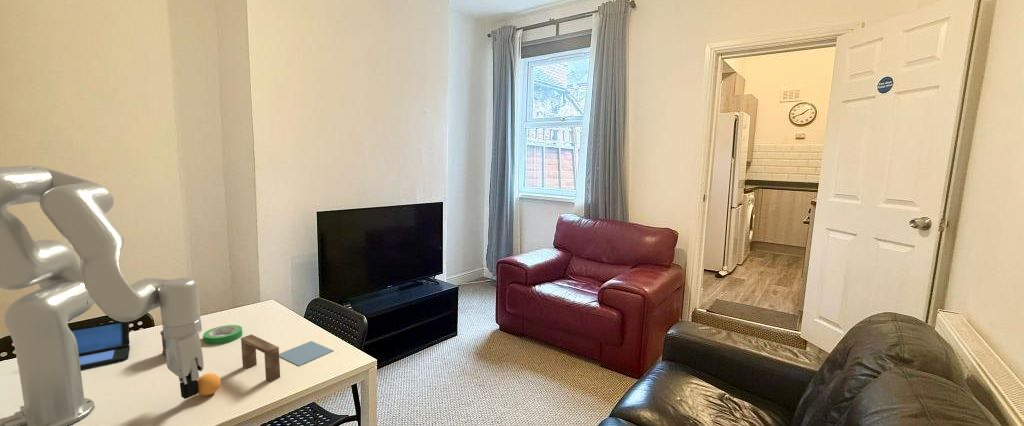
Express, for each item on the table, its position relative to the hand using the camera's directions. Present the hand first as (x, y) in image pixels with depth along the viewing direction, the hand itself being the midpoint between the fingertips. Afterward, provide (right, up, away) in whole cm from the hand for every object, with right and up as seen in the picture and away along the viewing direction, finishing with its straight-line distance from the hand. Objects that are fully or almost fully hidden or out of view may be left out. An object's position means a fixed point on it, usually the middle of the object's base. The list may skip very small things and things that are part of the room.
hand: (190, 395), depth 108 cm
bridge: (+9, 0, +16) cm, 18 cm away
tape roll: (-17, +3, +37) cm, 41 cm away
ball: (+2, +1, +4) cm, 4 cm away
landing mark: (+16, +2, +28) cm, 32 cm away
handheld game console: (-44, +2, +20) cm, 49 cm away
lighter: (-24, +2, +24) cm, 34 cm away
